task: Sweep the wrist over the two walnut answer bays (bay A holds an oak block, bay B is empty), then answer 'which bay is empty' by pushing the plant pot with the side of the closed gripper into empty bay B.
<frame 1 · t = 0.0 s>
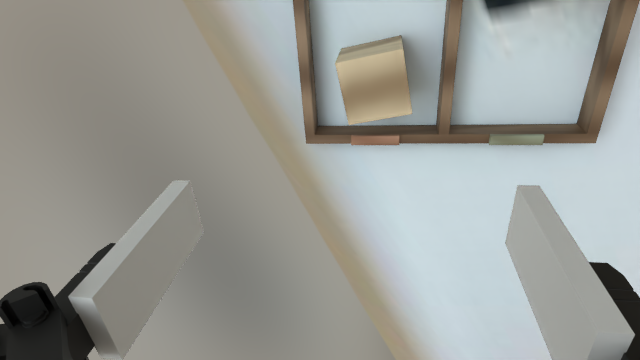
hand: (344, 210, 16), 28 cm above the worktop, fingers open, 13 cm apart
answer bays: (446, 69, 40), on the worktop
oak block: (375, 71, 41), on the worktop
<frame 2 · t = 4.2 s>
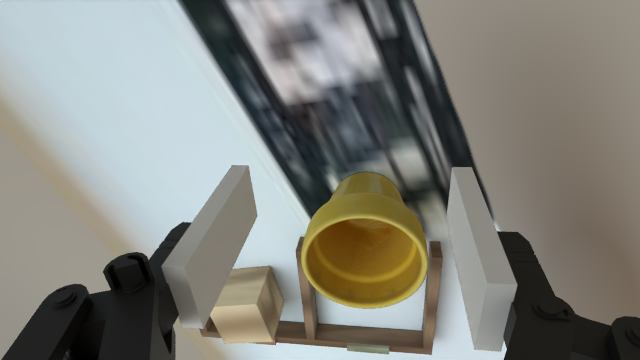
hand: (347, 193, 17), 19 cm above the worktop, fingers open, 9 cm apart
answer bays: (310, 289, 48), on the worktop
oak block: (254, 285, 49), on the worktop
plant pot: (367, 199, 41), on the worktop
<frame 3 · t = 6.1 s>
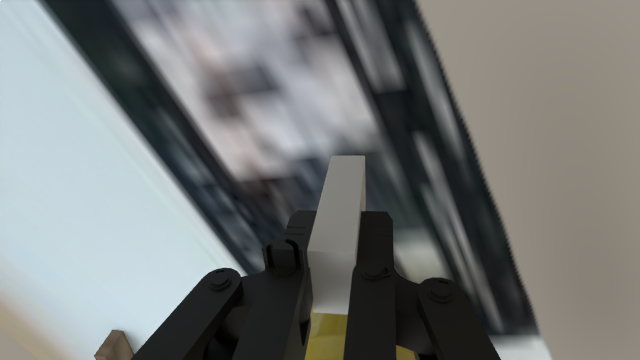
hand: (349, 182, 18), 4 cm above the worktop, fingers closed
plant pot: (359, 302, 29), on the worktop
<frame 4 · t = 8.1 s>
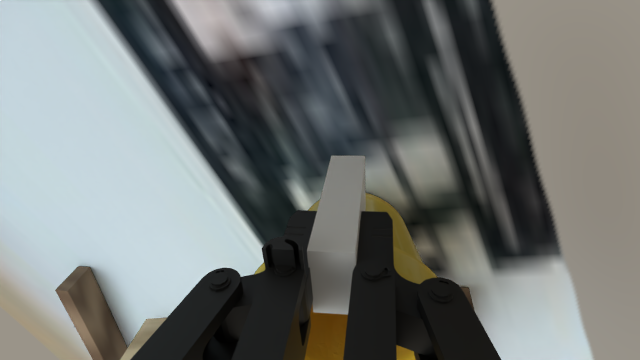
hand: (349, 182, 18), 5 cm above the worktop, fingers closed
answer bays: (271, 348, 33), on the worktop
oak block: (192, 340, 34), on the worktop
plant pot: (354, 232, 26), on the worktop, touching gripper
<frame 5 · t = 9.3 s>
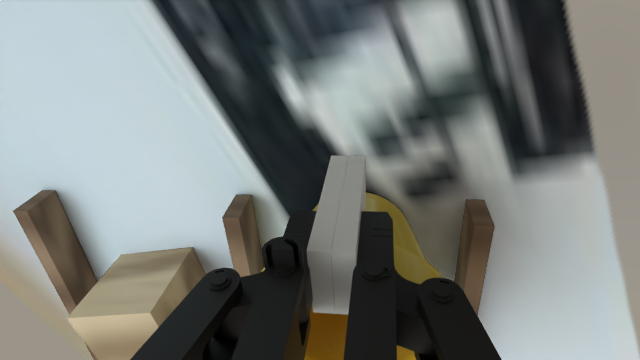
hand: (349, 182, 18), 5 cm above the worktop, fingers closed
answer bays: (261, 287, 29), on the worktop
oak block: (173, 280, 30), on the worktop
plant pot: (358, 232, 26), on the worktop, touching gripper
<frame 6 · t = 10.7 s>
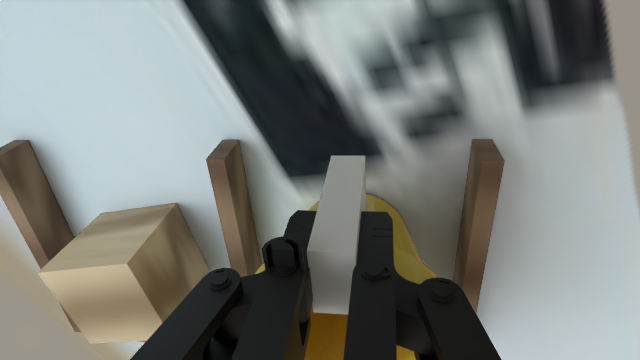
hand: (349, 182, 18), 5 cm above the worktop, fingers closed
answer bays: (251, 247, 27), on the worktop
oak block: (157, 242, 28), on the worktop
plant pot: (355, 233, 26), on the worktop, touching gripper
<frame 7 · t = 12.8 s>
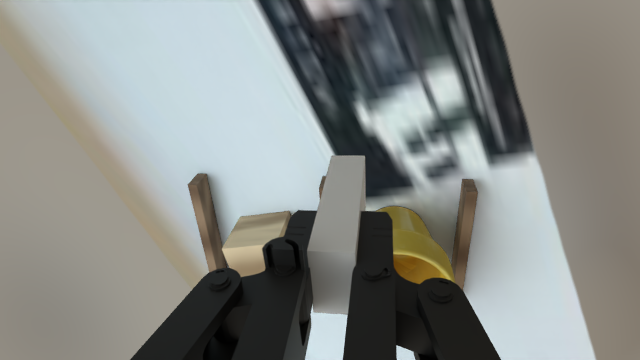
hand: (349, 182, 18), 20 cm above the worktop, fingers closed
answer bays: (330, 238, 45), on the worktop
oak block: (272, 234, 46), on the worktop
plant pot: (394, 230, 44), on the worktop
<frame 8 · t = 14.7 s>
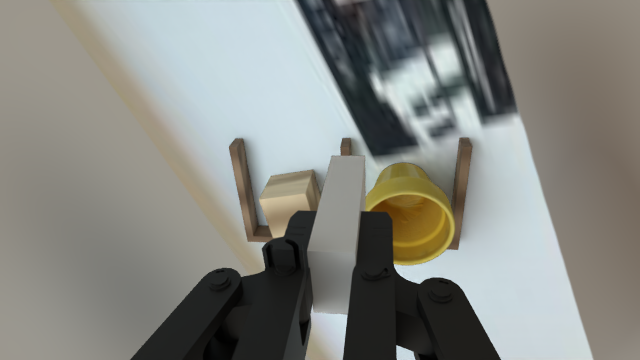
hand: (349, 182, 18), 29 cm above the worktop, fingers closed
answer bays: (348, 192, 53), on the worktop
oak block: (297, 191, 54), on the worktop
plant pot: (402, 184, 52), on the worktop
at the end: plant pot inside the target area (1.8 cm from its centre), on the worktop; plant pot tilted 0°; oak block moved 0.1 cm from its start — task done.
